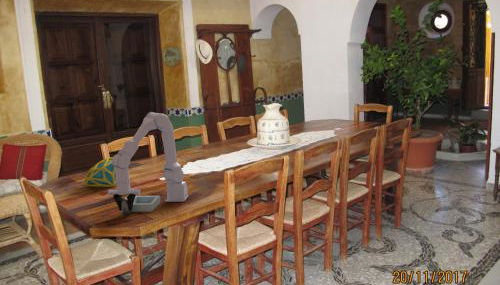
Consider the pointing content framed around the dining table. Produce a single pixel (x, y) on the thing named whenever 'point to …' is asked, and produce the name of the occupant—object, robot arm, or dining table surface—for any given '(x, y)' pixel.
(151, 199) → the dish
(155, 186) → the dining table surface
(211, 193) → the dining table surface
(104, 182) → the decorative object
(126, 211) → the battery cell
